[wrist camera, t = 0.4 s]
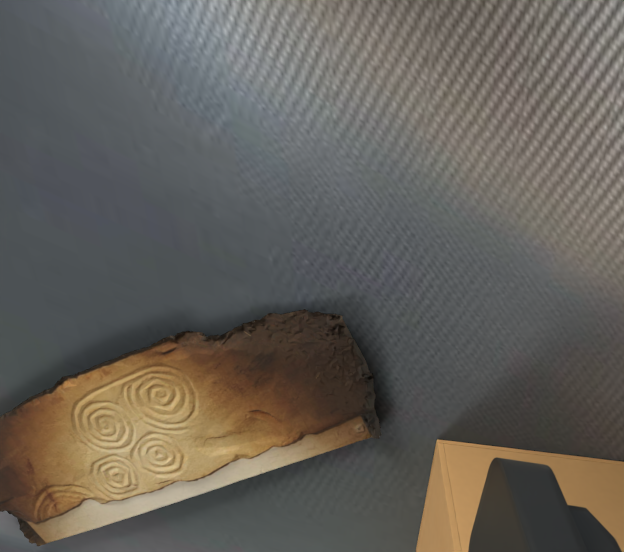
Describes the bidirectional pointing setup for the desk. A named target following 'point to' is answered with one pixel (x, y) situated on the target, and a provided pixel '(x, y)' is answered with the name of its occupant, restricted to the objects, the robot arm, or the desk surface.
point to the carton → (471, 478)
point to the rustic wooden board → (182, 421)
